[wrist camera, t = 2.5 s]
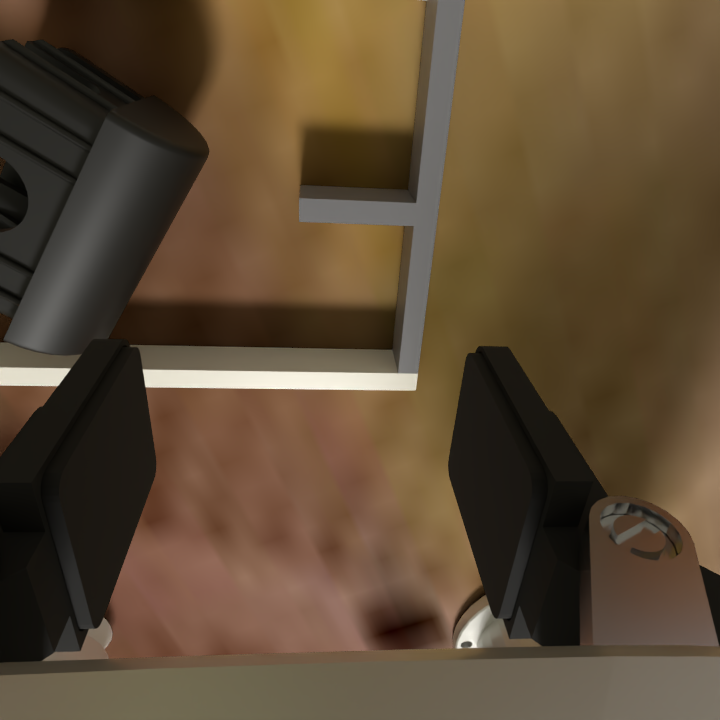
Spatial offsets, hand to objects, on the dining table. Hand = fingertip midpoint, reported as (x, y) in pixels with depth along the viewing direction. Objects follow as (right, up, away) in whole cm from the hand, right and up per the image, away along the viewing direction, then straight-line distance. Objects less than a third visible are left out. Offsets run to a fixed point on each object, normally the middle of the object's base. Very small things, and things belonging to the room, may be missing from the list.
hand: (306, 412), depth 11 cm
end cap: (-11, +9, +15) cm, 20 cm away
